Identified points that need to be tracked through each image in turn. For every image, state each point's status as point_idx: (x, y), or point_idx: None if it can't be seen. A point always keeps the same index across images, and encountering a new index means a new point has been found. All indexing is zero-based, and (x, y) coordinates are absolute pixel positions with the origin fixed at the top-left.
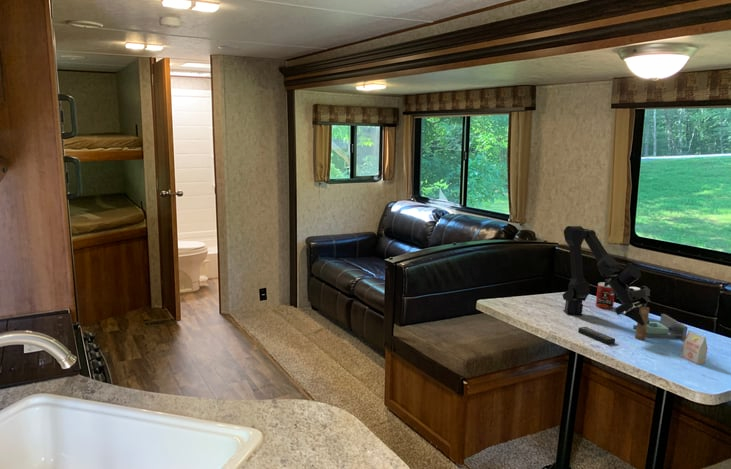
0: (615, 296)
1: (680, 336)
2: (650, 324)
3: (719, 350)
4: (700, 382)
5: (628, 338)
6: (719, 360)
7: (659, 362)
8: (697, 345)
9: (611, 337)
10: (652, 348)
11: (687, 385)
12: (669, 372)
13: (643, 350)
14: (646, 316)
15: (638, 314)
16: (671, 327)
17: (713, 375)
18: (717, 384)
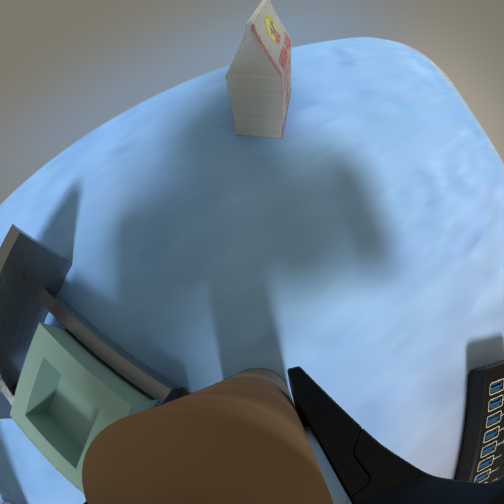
0: None
1: (51, 270)
2: (54, 439)
3: (68, 156)
4: (392, 58)
5: None
6: (169, 96)
7: (424, 144)
8: (285, 38)
9: (486, 394)
10: (331, 252)
11: (433, 69)
12: (436, 104)
13: (405, 249)
14: (255, 388)
15: (373, 456)
16: (7, 341)
17: (318, 55)
18: (357, 43)
